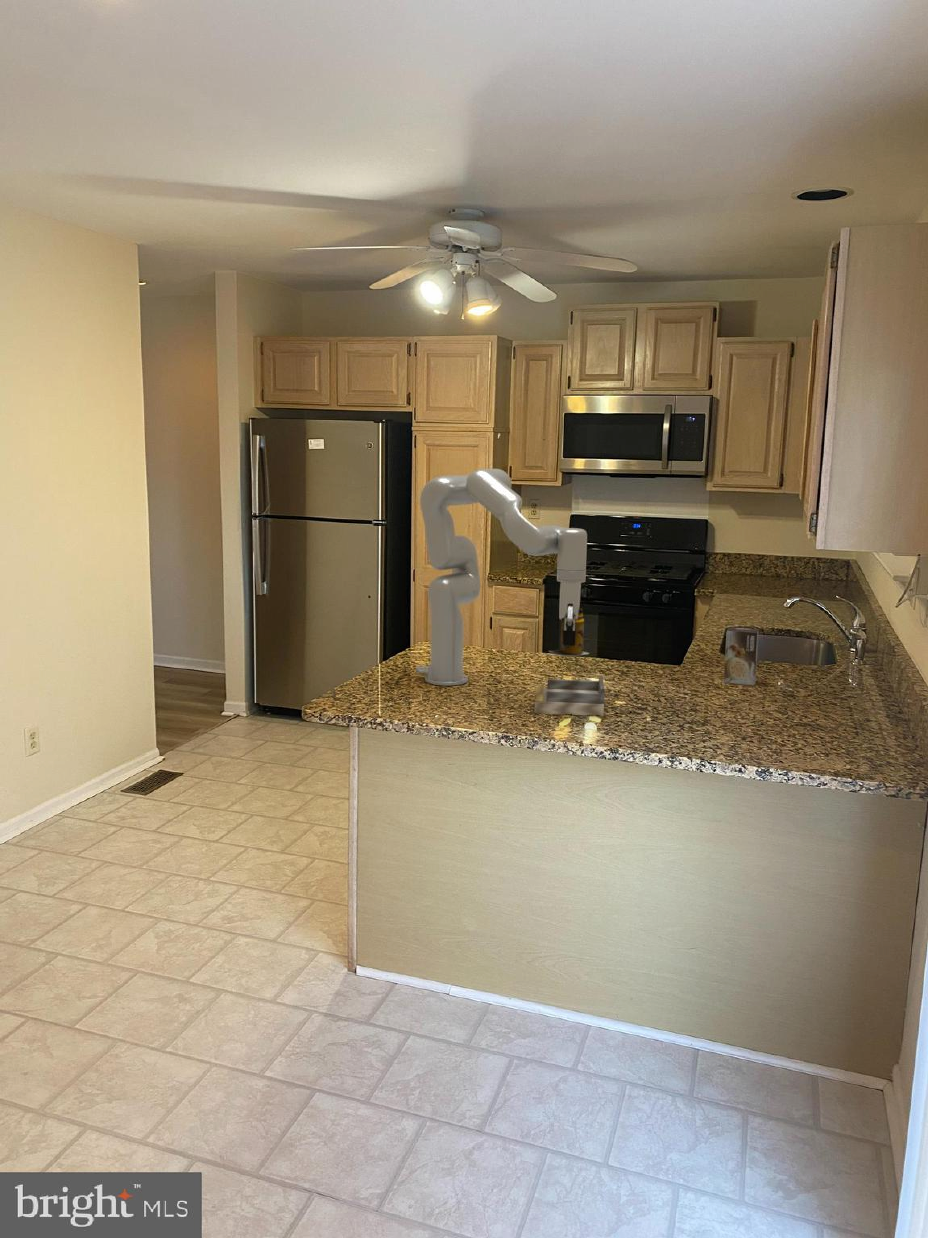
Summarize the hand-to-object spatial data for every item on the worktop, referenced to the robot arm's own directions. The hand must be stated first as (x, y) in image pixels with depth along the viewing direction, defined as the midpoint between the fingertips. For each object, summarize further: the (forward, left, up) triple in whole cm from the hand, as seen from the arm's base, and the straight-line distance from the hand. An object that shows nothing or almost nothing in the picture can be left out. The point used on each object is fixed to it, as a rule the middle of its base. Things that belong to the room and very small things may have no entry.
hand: (569, 641), depth 247 cm
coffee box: (+52, +34, -18) cm, 64 cm away
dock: (+1, 0, -18) cm, 18 cm away
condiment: (0, 0, -3) cm, 3 cm away
